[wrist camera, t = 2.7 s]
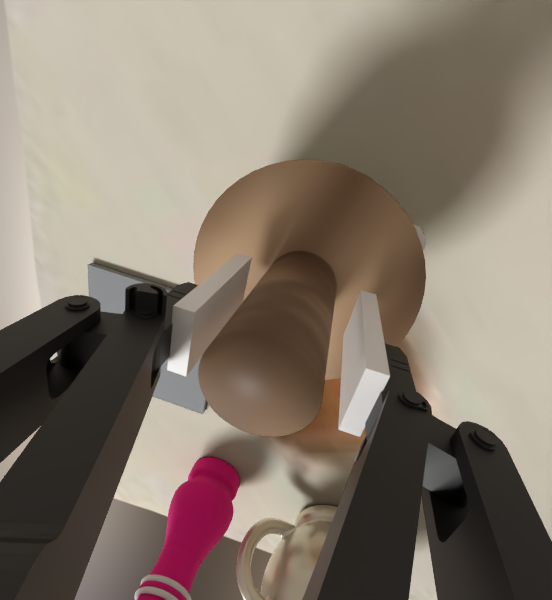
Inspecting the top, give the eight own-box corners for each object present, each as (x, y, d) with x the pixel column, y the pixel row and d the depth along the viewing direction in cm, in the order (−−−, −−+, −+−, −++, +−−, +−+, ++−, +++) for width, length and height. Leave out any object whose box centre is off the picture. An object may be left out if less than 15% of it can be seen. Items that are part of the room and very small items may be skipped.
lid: (467, 199, 16) (629, 253, 6) (369, 394, 21) (383, 571, 12) (219, 131, 17) (60, 97, 8) (190, 333, 22) (79, 451, 13)
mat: (223, 304, 30) (221, 307, 30) (204, 410, 36) (202, 414, 36) (92, 262, 32) (87, 264, 31) (95, 371, 38) (91, 374, 37)
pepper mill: (247, 464, 38) (156, 729, 21) (240, 501, 42) (155, 758, 24) (192, 446, 39) (58, 685, 21) (189, 483, 42) (69, 718, 25)
